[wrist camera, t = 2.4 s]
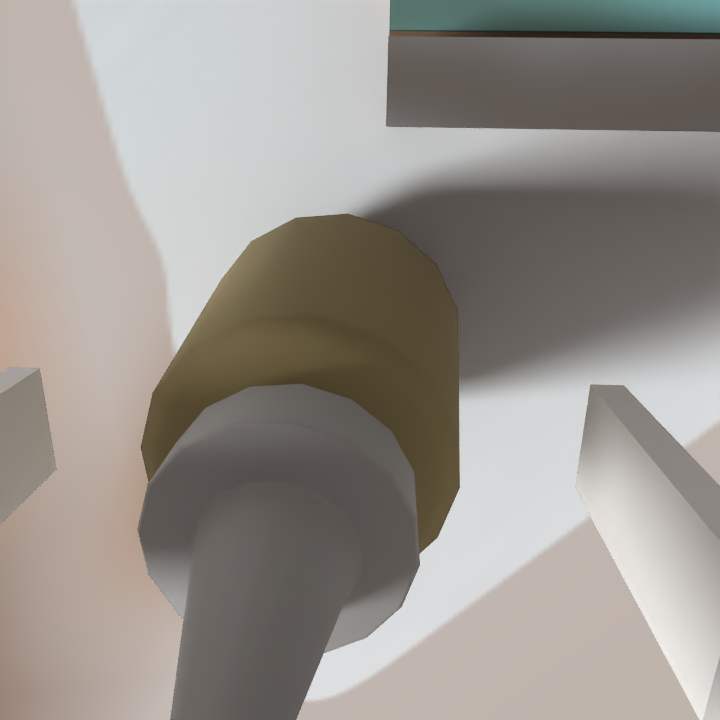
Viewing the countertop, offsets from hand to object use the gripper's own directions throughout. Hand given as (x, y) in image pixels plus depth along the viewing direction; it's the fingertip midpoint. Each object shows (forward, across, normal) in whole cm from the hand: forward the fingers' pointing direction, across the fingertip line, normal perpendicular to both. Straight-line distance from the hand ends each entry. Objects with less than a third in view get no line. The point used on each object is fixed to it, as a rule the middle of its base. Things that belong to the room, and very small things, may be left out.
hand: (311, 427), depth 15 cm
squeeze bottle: (+9, 0, 0) cm, 9 cm away
